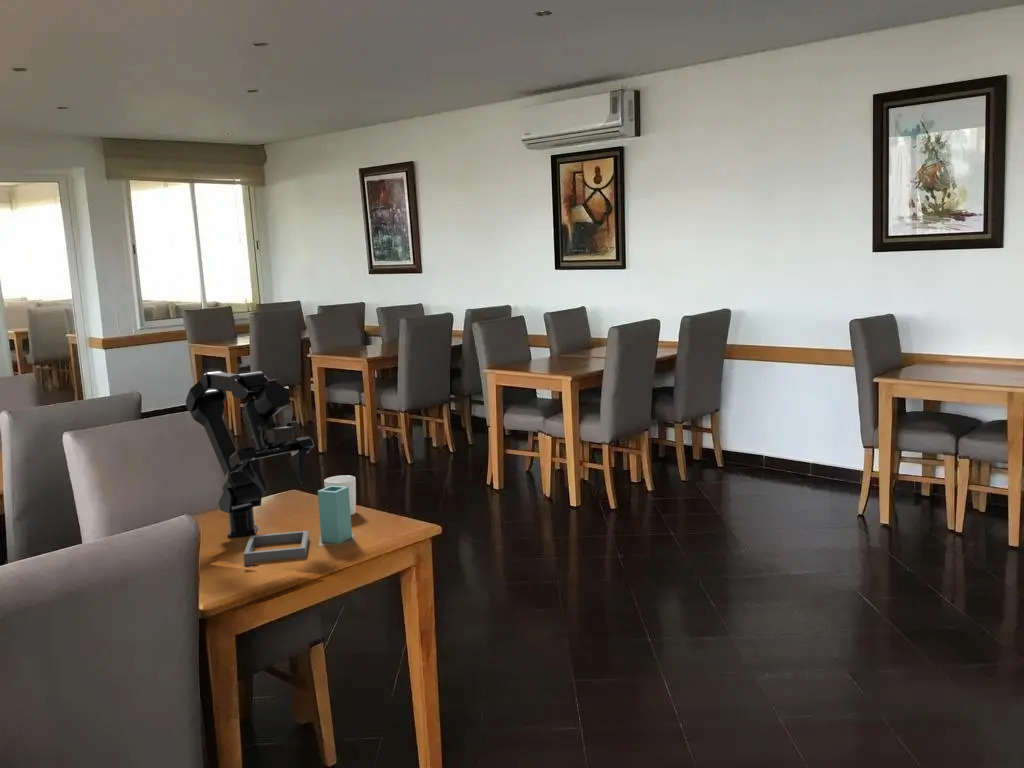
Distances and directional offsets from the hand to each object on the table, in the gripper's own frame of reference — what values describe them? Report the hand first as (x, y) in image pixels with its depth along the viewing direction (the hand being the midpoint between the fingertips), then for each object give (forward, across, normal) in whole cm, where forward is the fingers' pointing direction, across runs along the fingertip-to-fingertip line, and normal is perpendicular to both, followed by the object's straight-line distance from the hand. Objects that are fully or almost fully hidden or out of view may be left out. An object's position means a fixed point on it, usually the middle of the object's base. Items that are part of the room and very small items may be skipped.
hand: (283, 487), depth 194 cm
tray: (+13, -3, +6) cm, 15 cm away
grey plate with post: (+15, +10, +3) cm, 18 cm away
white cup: (+7, +23, +19) cm, 31 cm away
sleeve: (+14, +10, +2) cm, 18 cm away
